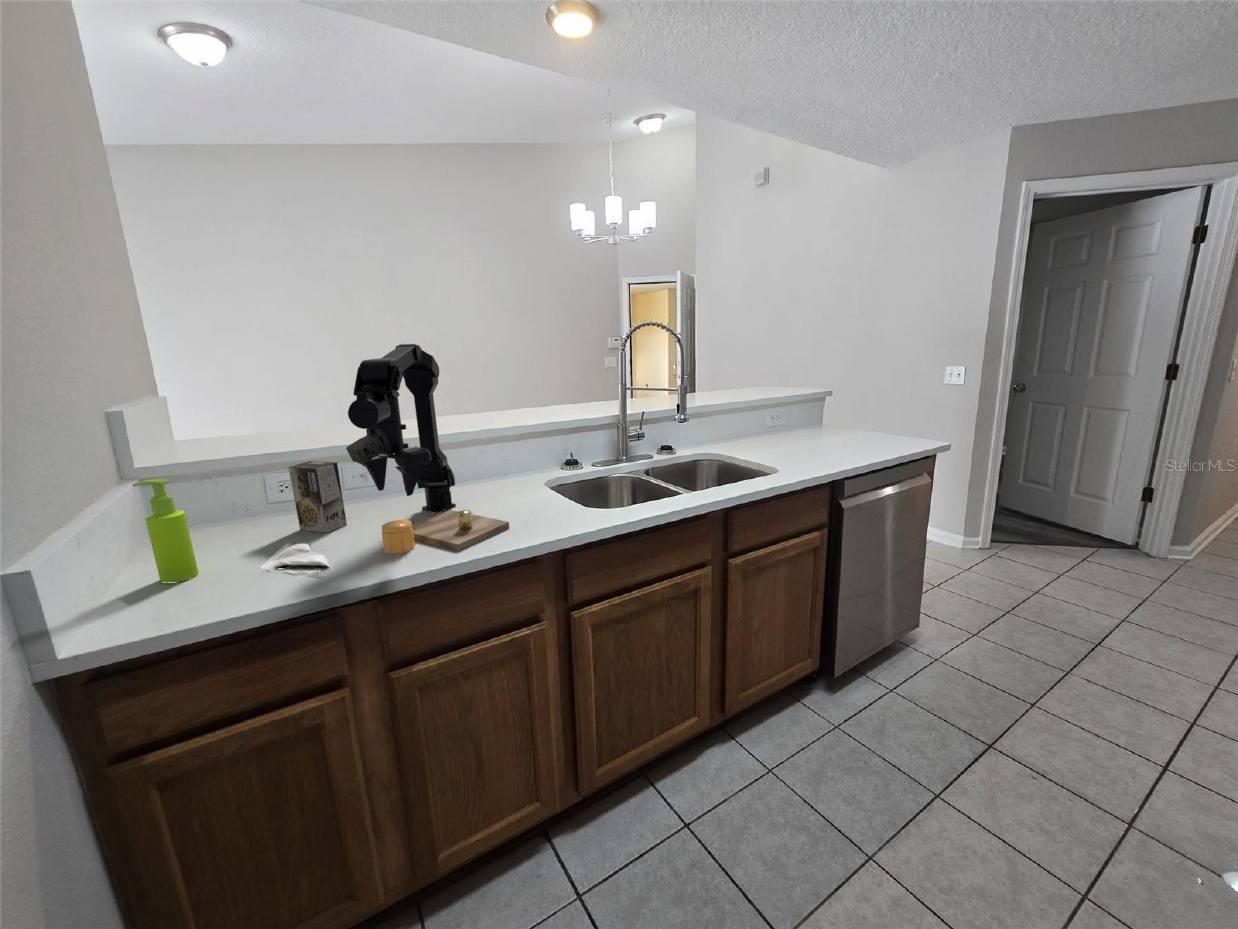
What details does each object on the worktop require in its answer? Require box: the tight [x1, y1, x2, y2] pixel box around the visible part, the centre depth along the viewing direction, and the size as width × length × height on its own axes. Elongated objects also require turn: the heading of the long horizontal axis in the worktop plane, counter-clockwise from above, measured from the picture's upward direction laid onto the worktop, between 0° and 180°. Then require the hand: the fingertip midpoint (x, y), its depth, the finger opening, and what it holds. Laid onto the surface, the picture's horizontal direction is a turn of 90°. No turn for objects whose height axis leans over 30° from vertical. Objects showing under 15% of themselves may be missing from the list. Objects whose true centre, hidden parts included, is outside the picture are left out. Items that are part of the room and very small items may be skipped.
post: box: [458, 509, 473, 531], centre depth 124 cm, size 3×3×4 cm
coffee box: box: [288, 460, 348, 533], centre depth 131 cm, size 9×6×16 cm
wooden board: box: [412, 509, 510, 552], centre depth 127 cm, size 20×16×2 cm
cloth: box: [260, 542, 331, 579], centre depth 113 cm, size 26×14×2 cm, turn 32°
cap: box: [381, 519, 416, 555], centre depth 117 cm, size 6×6×6 cm
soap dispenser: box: [131, 478, 199, 583], centre depth 103 cm, size 6×7×20 cm
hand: (395, 492), depth 115 cm, fingers open, 9 cm apart
